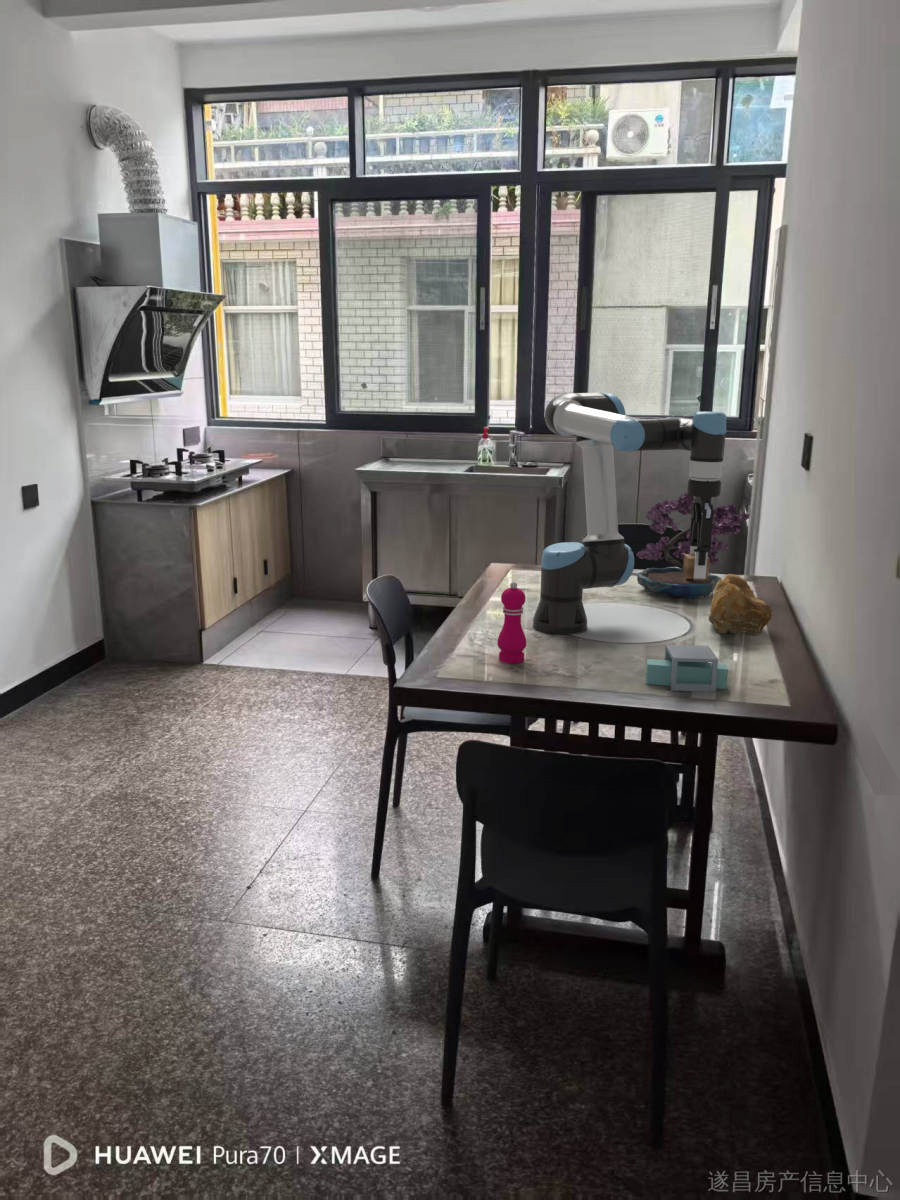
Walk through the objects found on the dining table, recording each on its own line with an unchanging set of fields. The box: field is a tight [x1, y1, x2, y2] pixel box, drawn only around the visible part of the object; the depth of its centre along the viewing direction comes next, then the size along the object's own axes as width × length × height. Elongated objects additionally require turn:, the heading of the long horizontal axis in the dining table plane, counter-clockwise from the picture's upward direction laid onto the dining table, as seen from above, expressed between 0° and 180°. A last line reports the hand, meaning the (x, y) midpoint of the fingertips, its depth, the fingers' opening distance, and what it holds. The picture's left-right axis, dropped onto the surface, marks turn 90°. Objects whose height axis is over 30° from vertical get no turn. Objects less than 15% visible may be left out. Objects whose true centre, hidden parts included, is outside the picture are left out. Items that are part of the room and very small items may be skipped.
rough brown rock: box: [708, 573, 773, 636], centre depth 254 cm, size 23×16×15 cm
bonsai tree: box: [635, 492, 750, 600], centre depth 293 cm, size 35×27×32 cm
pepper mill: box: [496, 581, 527, 664], centre depth 226 cm, size 7×7×20 cm
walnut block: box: [683, 554, 710, 579], centre depth 220 cm, size 5×5×5 cm
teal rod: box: [645, 658, 729, 690], centre depth 212 cm, size 18×4×5 cm, turn 81°
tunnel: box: [663, 644, 719, 693], centre depth 212 cm, size 10×10×8 cm
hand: (696, 575), depth 220 cm, fingers closed on walnut block, 5 cm apart
